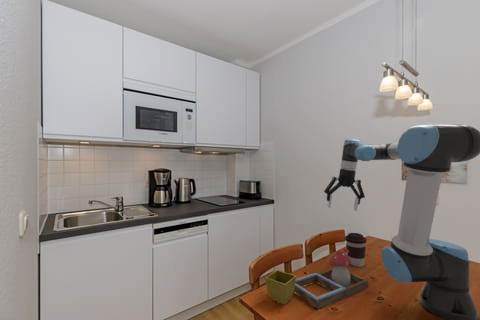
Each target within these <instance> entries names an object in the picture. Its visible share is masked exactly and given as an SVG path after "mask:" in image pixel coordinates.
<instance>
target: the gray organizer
mask: <svg viewBox="0 0 480 320" xmlns="http://www.w3.org/2000/svg"><path fill="white" fill-rule="evenodd" d="M334 268H335V267H334ZM334 268H331V269H328V270H325V271H322V272H319V273H318V272H317V273H318V274H320V275H322V276H324V277H326V278H328V279H330V278H329V277H332V271H333V269H334ZM349 273H350V277H351V279H350V280H351V281H350V282H352V281H353V282H352V283H354V282H355V283H354V284H351V285H349V286H348V287H346V290H344V291H341V292H339V293H336V294H334V295H331V296H329V297H326V298H324V299H321V300H319V301H316V300H315V299H313V298H312V297H310V296H309V295H307V294H306V293H304V292H303V291H301V290H300V289H298V288H297V287H295V290H294V292H296V293H297V294H298V295H300V296H301V297H302V298H304V299H305V300H306V301H307V302H306V301H305V300H304V301H305V302H306V303H308V302H309V303H310V304H309V303H308V304H309V305H311V304H312V305H313V306H314V308H315V307H316V308H319V309H321V308H320V307H322V308H324V307H326V306H328V304H329V305H331V304H333V302H334V303H336V302H339V301H341V300H343V299H345V298H347V297H350V296H352V294H353V295H354V294H357V293H359V292H363V291H365V290H367V289H369V280H368V279H366V278H363V277H361V276H359V275H357V274H354V273H352V272H350V271H349ZM314 282H316V283H317V282H318V283H320V284H321V285H320V284H319V285H320V286H322V285H323V286H322V287H324V286H325V287H326V288H325V287H324V288H325V289H327V288H328V289H327V290H329V291H330V290H331V291H333V290H336V289H339V288H338V287H336V286H334V285H333V284H331V283H329V282H327V281H325V280H323V279H321V278H320V277H318V276H314V277H311V278H308V279H305V280H302V281H299V282H296V284H298V285H299V286H304V285H307V284H310V283H313V284H315V283H314ZM318 283H317V284H318ZM366 288H367V289H366ZM331 291H330V292H331ZM298 295H297V296H298ZM301 297H300V298H301ZM302 298H301V299H302ZM340 299H341V300H340ZM330 303H331V304H330ZM312 305H311V306H312ZM325 305H326V306H325ZM313 306H312V307H313ZM323 306H324V307H323ZM316 308H315V309H316Z"/></svg>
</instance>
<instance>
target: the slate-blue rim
mask: <svg viewBox="0 0 480 320" xmlns="http://www.w3.org/2000/svg"><path fill="white" fill-rule="evenodd" d="M314 276H318V277H320V278H321V279H323V280H325V281H327V282H329V283H331V284H333V285H334V286H336V287H338V288H339V289H336V290H333V291H329V292H326V293H323V294H320V295H318V296H317V295H315V294H313V293H312V292H310V291H309V290H307V289H306V288H304V287H301V286H299V285H298V284H296V282H299V281H302V280H305V279H308V278H311V277H314ZM296 282H295V287H297V288H298V289H300V290H301V291H303V292H304V293H306V294H307V295H309V296H310V297H312V298H313V299H315V300H316V301H319V300H321V299H324V298H326V297H329V296H331V295H334V294H336V293H339V292H341V291H344V290H346V288H345V287H343V286H341V285H339V284H337V283H335V282H333V281H331V279H330V278H328V279H327V278H326V277H324V276H322V275H320V274H318V272H314V273H311V274H307V275H304V276H300V277H298V278H296Z"/></svg>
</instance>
